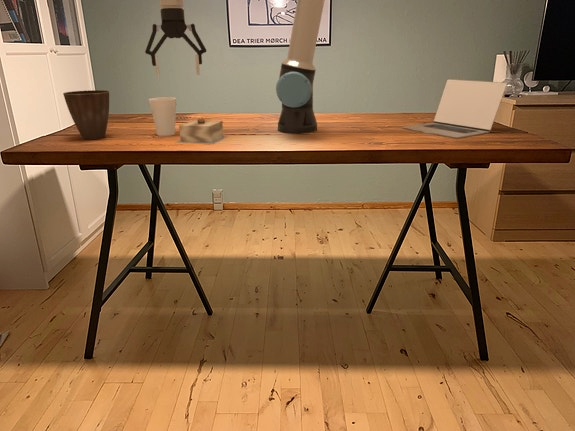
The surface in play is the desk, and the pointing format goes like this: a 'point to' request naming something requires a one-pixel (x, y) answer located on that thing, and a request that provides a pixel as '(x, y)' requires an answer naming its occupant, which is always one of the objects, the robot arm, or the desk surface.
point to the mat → (204, 143)
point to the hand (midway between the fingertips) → (178, 75)
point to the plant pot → (89, 112)
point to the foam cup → (164, 115)
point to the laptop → (465, 109)
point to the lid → (201, 131)
